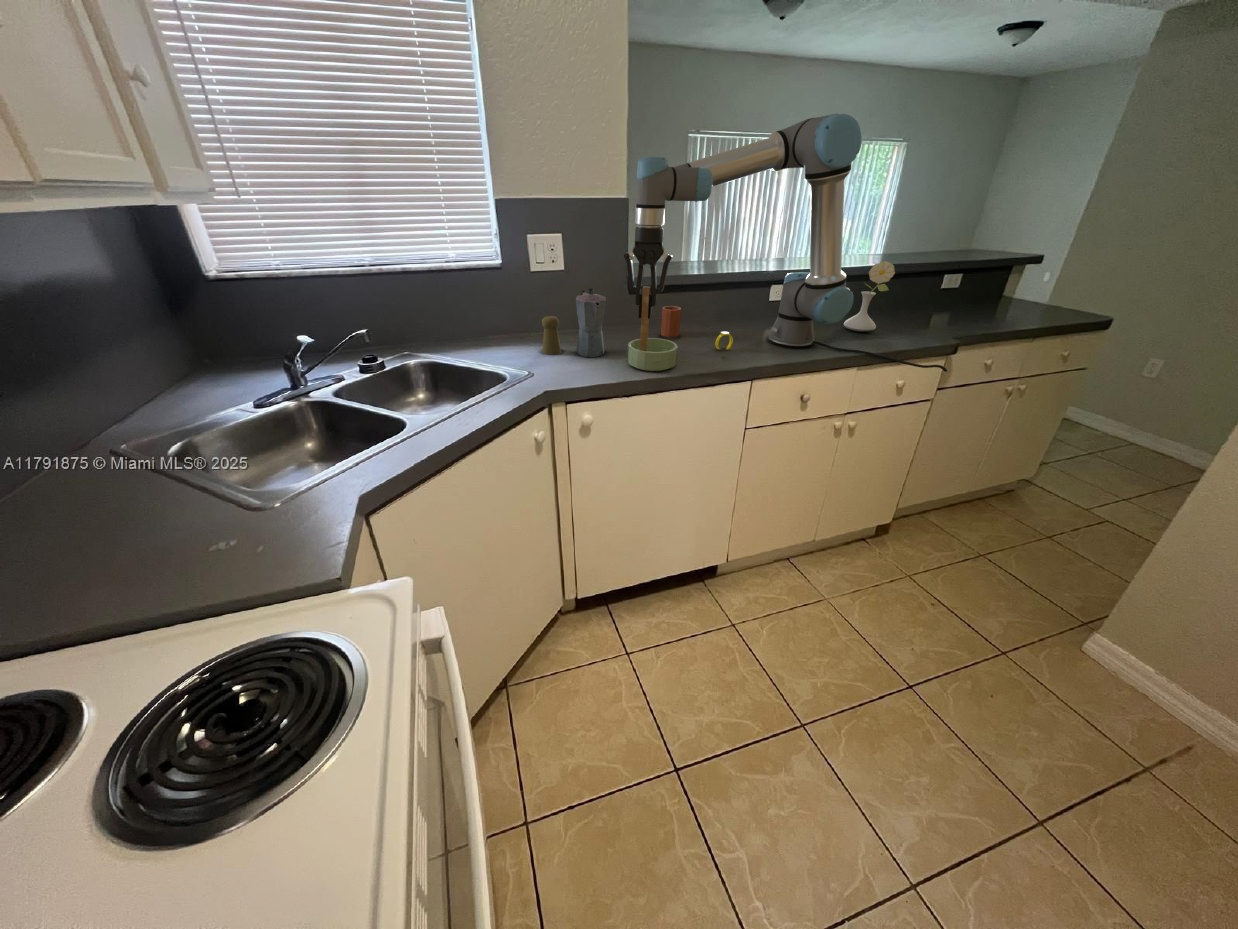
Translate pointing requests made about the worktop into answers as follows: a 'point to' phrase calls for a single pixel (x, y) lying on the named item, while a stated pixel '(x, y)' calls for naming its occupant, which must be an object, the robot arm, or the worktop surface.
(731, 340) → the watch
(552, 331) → the olive pepper grinder
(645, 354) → the bowl
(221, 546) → the worktop surface
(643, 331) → the stirring stick
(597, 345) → the moka pot
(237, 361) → the worktop surface
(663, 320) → the utensil pot
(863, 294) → the flower in vase
